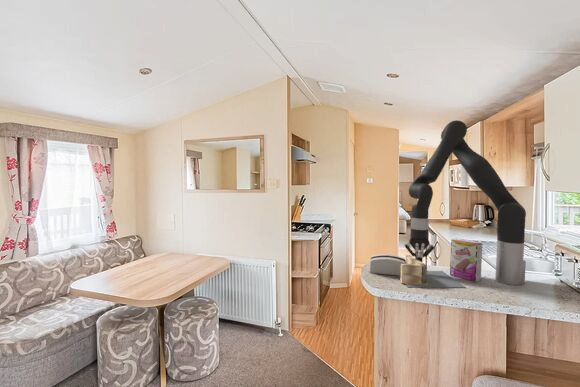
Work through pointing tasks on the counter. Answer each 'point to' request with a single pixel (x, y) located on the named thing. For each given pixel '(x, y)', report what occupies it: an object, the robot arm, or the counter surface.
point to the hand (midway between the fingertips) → (418, 265)
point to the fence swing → (412, 260)
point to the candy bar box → (466, 259)
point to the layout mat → (436, 281)
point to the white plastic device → (386, 264)
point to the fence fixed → (413, 273)
